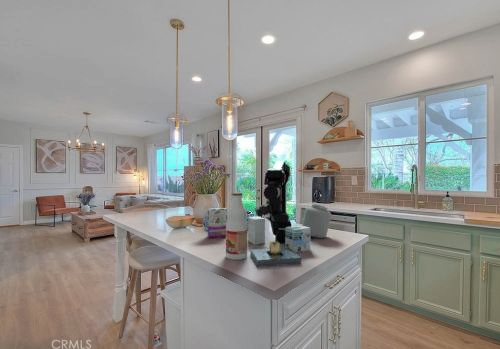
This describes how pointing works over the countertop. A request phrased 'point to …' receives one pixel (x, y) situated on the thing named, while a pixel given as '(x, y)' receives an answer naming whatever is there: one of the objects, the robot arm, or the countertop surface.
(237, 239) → the fruit juice
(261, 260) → the jig
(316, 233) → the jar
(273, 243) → the cylinder
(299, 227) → the light bulb box
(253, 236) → the small box
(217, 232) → the candy bar box
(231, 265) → the countertop surface
